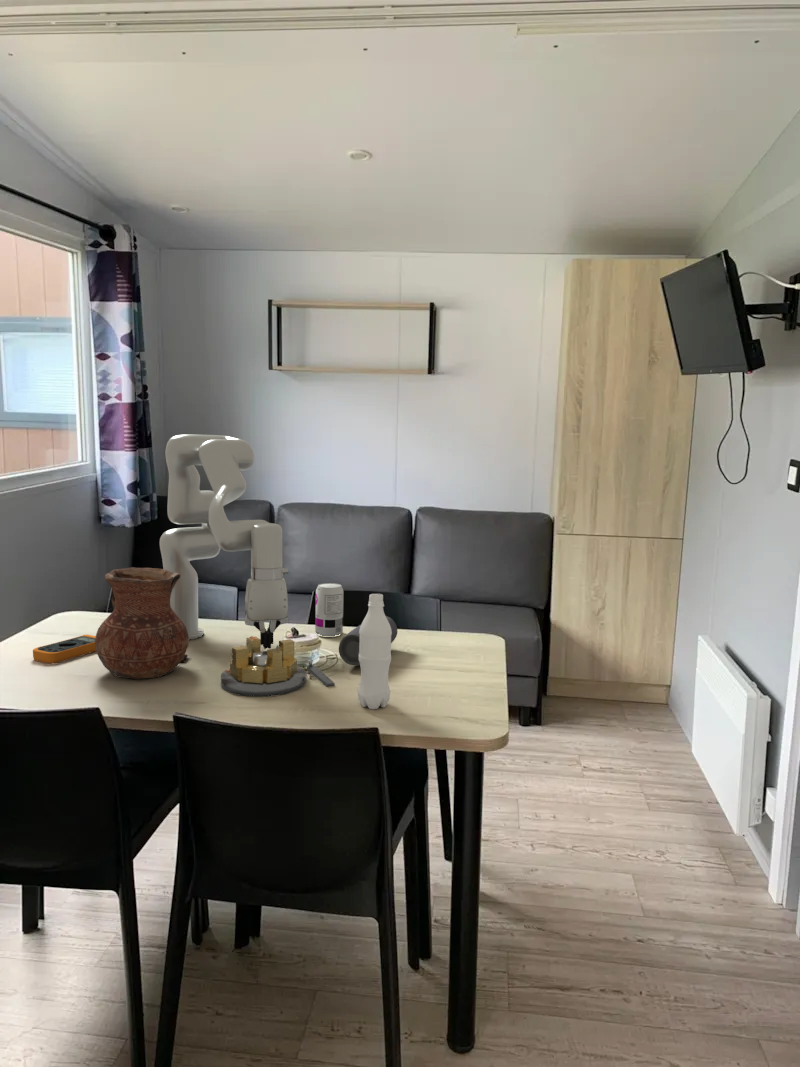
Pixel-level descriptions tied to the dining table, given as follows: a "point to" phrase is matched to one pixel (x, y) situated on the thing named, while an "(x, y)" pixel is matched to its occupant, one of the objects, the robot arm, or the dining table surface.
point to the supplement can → (329, 609)
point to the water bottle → (374, 655)
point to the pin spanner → (319, 675)
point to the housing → (262, 688)
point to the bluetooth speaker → (351, 644)
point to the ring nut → (278, 662)
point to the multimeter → (65, 649)
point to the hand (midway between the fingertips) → (266, 647)
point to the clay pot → (141, 625)
